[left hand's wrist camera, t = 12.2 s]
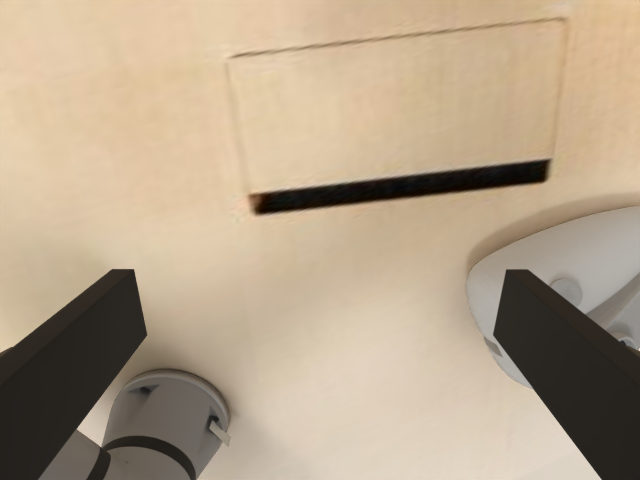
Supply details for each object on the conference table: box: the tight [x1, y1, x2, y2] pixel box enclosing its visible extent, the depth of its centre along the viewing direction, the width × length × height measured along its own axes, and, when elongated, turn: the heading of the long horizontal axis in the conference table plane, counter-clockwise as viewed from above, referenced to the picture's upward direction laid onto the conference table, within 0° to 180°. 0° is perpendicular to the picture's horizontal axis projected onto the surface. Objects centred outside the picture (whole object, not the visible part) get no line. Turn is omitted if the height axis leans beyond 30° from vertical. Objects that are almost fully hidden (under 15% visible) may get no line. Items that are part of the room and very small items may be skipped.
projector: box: [466, 206, 640, 389], centre depth 35 cm, size 22×23×15 cm
